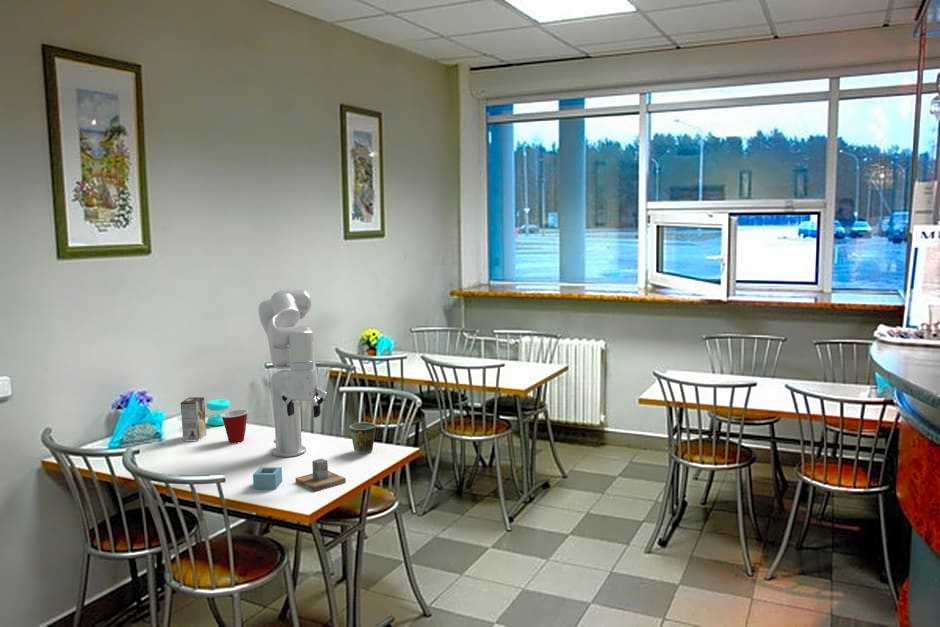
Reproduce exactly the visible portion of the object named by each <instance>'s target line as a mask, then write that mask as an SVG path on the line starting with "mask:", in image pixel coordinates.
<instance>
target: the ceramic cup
mask: <svg viewBox="0 0 940 627" xmlns="http://www.w3.org/2000/svg"><path fill="white" fill-rule="evenodd" d="M376 430H377V424H375V423H372V422H366V421H365V422H356V423H353V424H351V425H349V431H350V437H351V441H352V446H353V450H354V453H355V452H356V454H358V453H359V454H358V455H366V453H367V454H371V453H372V451H373V448H374V442H375V435H376V432H377V431H376Z"/></svg>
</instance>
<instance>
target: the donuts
mask: <svg viewBox="0 0 940 627" xmlns="http://www.w3.org/2000/svg"><path fill="white" fill-rule="evenodd" d="M230 406H231V401H230V400H228V399H224V398H221V399H219V398H218V399H213V400H209V401H208V402H206V404H205V407H206V408H207V410H210V411H212V412H220V411H224V410H227V409H228V408H230ZM221 414H222V413H219V414H214V415H210V416H208V418H207V419H206V423H207V425H209V426H211V425H215V426H214V427H219V426H218V425H223V426H225V425H224V422H223V419H222V417H221V416H220V415H221Z"/></svg>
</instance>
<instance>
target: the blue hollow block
mask: <svg viewBox="0 0 940 627" xmlns="http://www.w3.org/2000/svg"><path fill="white" fill-rule="evenodd" d="M252 481H253V483H252V484H253V490H277V489H278V487H279V486H280V485H281V483H282V482H283V469H282V466H260V467H258V468H257V469H256V471H255V472H254V473H253V474H252Z"/></svg>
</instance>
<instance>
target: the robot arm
mask: <svg viewBox="0 0 940 627" xmlns="http://www.w3.org/2000/svg"><path fill="white" fill-rule="evenodd" d="M311 298H312V297H311V295H310V294H309V292H308V291H306V290H304V289H290V290H289V289H287V290H279V291H276V292H274V293H273V294H272V295H271V297H270V299H265V300H263V301H261V302H260V303H259V305H258V316H259V320H260V323H261V326H262V328H263V330H264V332H265V334H266V336H267V340H268V347H269V353H270V360H271V364H272V366H273V368H275V369H277V371H275V373H274V372H273V374H272V375H271V377H270V388H271V393H272V397H273V408H274V409H273V410H274V412H273V413H274V432H275V439H273V443H274V444H275V447H274V448H273V449H272V450H271V455H272V456H275V457H280V458H291V457H297V456H301V455H303V454H304V453H306V451H307V448H306V446H304V445H303V444H302V424H301V423H302V421H301V420H302V419H301V407H300V406H301V405H300V404H299V402H298V401H303V402H304V401H305V402H307V401H308V402H310V401H311V402H312V403H313V406H312V408H313V418H315V419H316V418H318V417H321V416H320V415H321V412H322V411H321V405H322V404H323V402H324V401H326V400H325V399H326V398H327V395H328V392H327V391H325V390H324V389H322V388H320V387H319V376H318V370H317V366H316V365H317V364H316V359H315V354H314V349H313V348H314V347H313V341H314V333H313V330H312V329H311V328H310V327H308V326H306V325H299V326H298V325H297V324H298V323H299V322H300V320H302V319H305V317H306V316H307V314H308V313H309V312H310V310H311V307H312V299H311ZM296 325H297V326H296ZM278 370H279V371H278ZM319 394H320V397H319Z"/></svg>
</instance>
